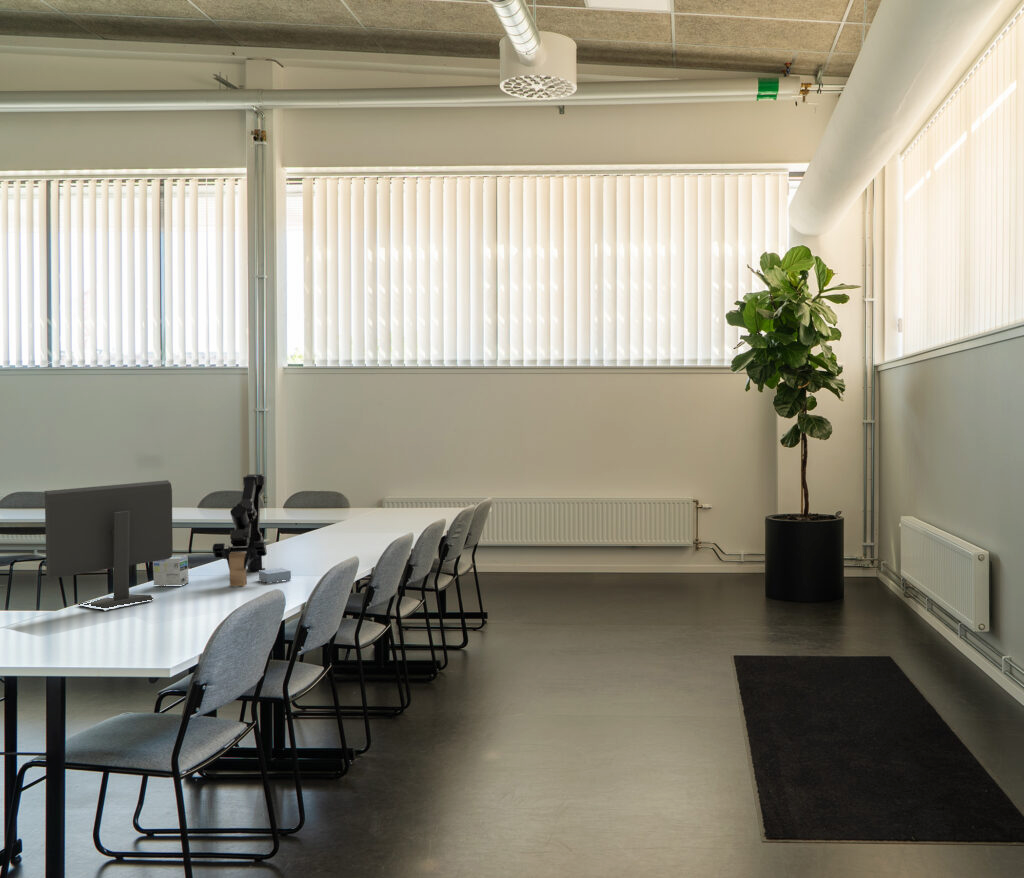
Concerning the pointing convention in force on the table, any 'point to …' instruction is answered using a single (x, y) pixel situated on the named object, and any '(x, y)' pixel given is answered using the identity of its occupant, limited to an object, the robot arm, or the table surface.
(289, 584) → the table surface
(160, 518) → the computer monitor
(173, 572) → the light bulb box
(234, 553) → the walnut pillar
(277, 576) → the slate-blue block
